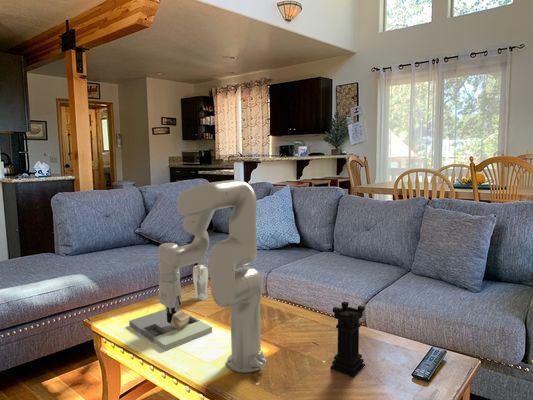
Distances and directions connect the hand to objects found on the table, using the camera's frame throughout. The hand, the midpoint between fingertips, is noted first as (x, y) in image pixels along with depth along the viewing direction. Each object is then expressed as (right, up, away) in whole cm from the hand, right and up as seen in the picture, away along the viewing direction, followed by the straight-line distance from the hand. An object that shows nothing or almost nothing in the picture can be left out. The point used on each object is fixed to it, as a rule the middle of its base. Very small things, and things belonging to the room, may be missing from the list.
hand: (171, 321), depth 157 cm
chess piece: (+62, -7, -27) cm, 68 cm away
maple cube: (+3, -1, -1) cm, 3 cm away
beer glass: (+6, +1, +33) cm, 34 cm away
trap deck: (-1, -3, +2) cm, 4 cm away
